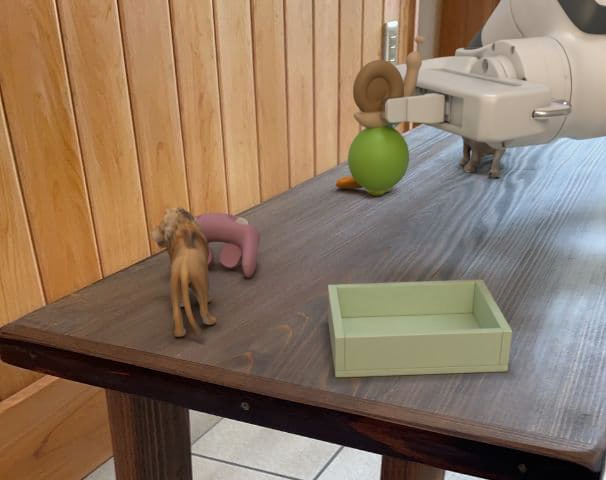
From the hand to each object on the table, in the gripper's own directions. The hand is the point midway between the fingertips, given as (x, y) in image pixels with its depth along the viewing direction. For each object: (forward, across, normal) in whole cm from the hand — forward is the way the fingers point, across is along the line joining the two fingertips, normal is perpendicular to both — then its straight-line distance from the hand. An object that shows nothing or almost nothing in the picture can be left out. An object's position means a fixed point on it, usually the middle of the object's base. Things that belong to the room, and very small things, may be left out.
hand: (375, 108), depth 73 cm
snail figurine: (-1, 0, -7) cm, 7 cm away
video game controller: (+10, +19, -18) cm, 28 cm away
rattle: (-19, +42, -18) cm, 49 cm away
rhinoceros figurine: (-41, +48, -17) cm, 66 cm away
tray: (0, -9, -18) cm, 20 cm away
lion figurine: (+17, +7, -18) cm, 26 cm away
